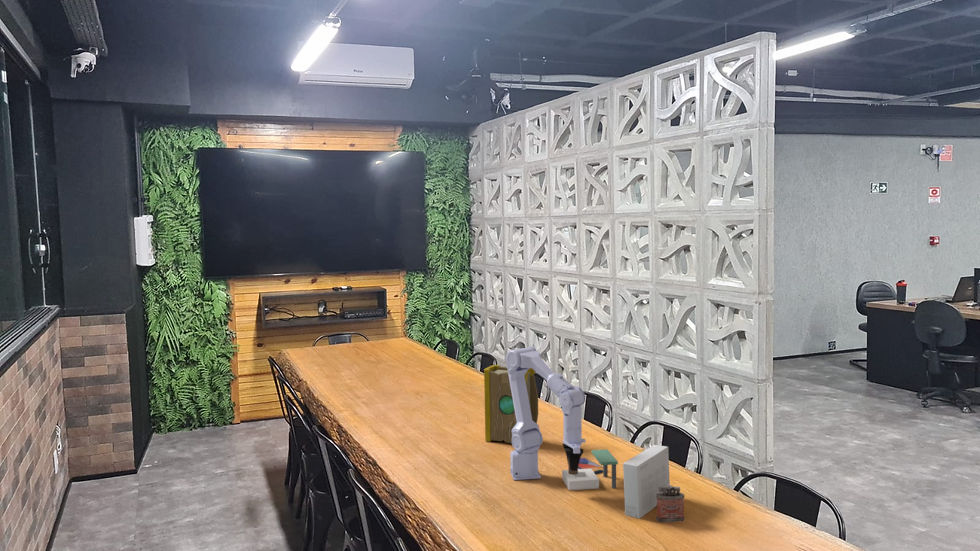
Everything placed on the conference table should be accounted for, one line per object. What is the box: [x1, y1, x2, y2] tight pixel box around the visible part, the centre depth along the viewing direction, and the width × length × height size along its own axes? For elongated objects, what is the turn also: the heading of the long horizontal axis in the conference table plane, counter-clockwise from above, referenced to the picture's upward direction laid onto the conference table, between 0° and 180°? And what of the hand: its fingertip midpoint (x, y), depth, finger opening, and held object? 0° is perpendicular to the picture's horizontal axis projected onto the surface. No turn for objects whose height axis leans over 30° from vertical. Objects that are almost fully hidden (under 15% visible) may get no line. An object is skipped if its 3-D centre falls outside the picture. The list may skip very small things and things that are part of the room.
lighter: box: [655, 484, 685, 523], centre depth 199 cm, size 8×3×10 cm, turn 92°
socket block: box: [561, 469, 600, 491], centre depth 227 cm, size 10×10×3 cm
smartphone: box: [578, 457, 603, 475], centre depth 243 cm, size 7×15×1 cm, turn 26°
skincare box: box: [622, 444, 671, 519], centre depth 209 cm, size 21×5×16 cm, turn 141°
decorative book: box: [483, 364, 539, 445], centre depth 272 cm, size 20×11×30 cm, turn 63°
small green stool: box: [591, 449, 619, 489], centre depth 228 cm, size 6×12×9 cm, turn 6°
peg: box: [567, 459, 578, 475], centre depth 218 cm, size 3×3×6 cm
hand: (572, 468), depth 218 cm, fingers closed on peg, 3 cm apart
